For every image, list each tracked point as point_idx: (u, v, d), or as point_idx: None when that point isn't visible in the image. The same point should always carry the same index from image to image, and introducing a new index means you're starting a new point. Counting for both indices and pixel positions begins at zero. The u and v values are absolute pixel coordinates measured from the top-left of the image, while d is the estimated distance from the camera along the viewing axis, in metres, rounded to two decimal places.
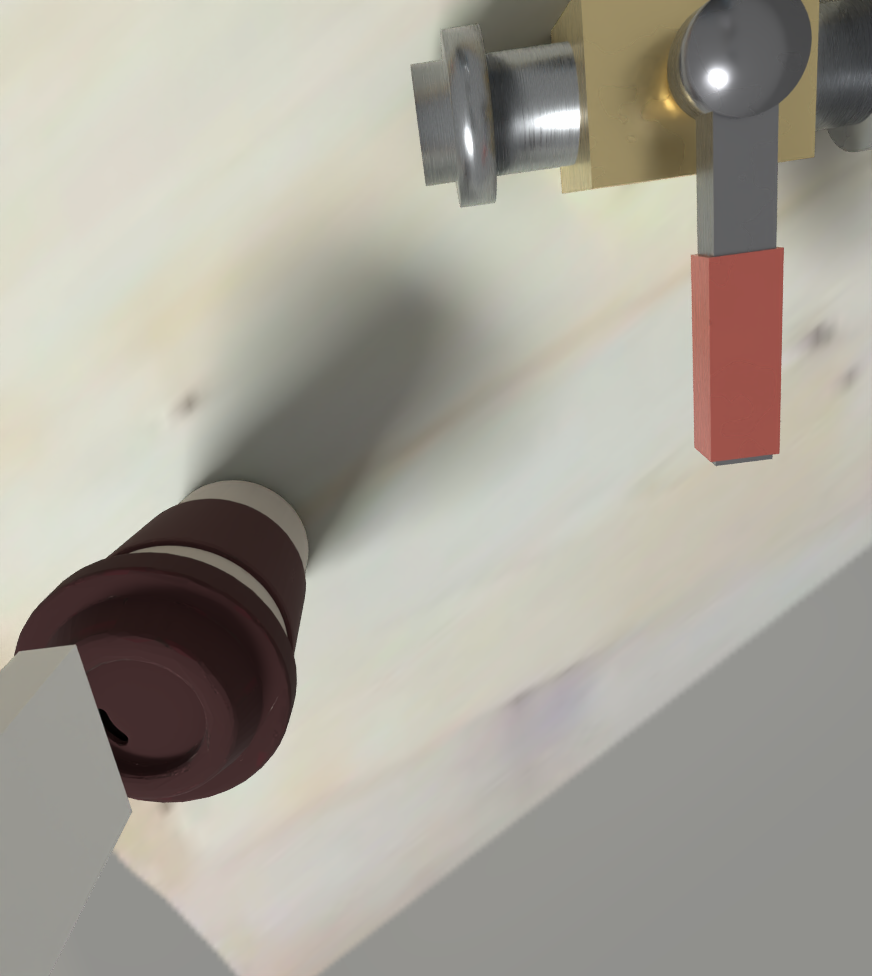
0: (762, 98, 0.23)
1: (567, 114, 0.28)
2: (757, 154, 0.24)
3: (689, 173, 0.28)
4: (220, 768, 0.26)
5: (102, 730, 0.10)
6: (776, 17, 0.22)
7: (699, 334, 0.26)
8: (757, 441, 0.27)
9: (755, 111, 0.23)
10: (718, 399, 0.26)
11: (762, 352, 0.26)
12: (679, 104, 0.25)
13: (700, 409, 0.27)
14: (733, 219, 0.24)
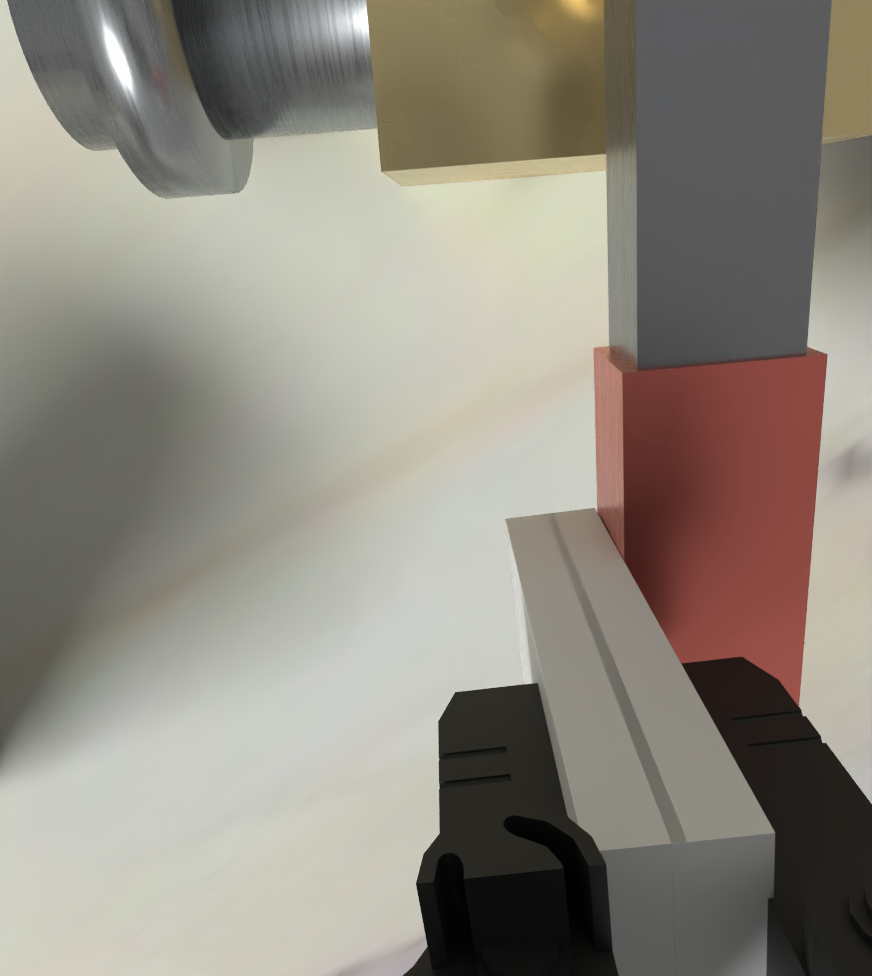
0: None
1: (345, 2, 0.13)
2: (766, 88, 0.08)
3: (604, 151, 0.12)
4: None
5: None
6: None
7: None
8: None
9: None
10: None
11: (758, 607, 0.10)
12: None
13: None
14: (692, 272, 0.09)
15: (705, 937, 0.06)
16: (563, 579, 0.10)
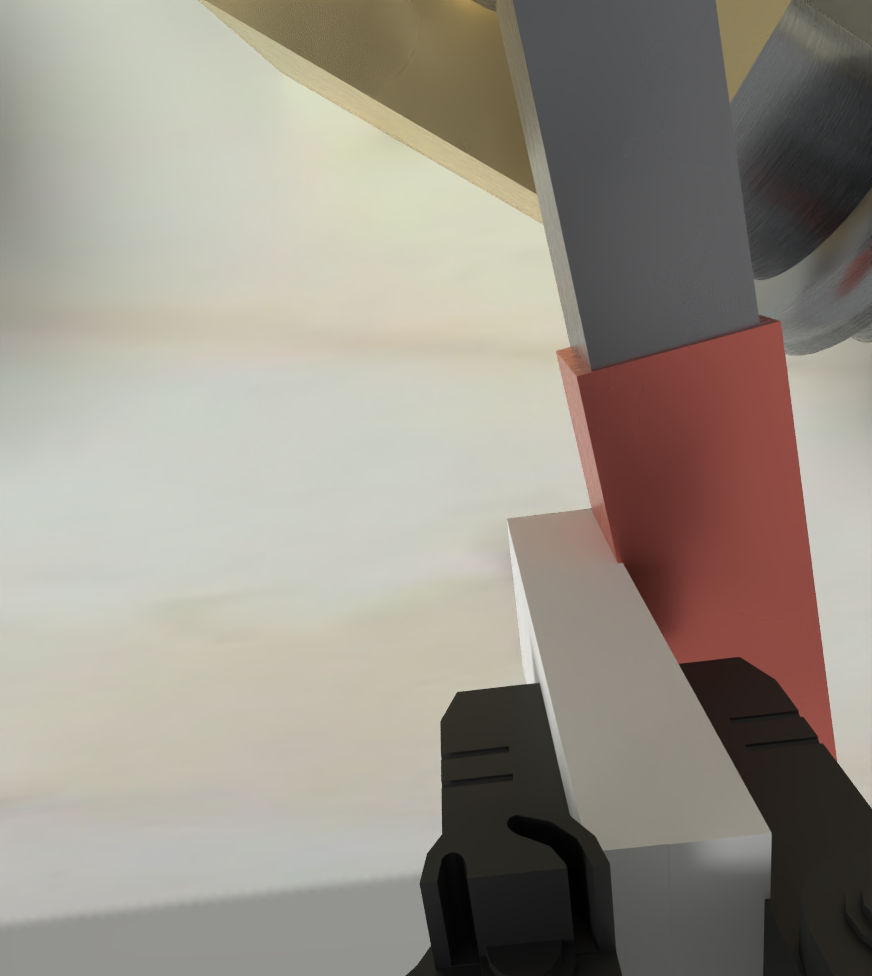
0: None
1: None
2: (663, 72, 0.08)
3: (398, 109, 0.12)
4: None
5: None
6: None
7: None
8: None
9: None
10: None
11: (763, 583, 0.10)
12: None
13: None
14: (626, 265, 0.09)
15: (701, 938, 0.06)
16: (561, 580, 0.10)
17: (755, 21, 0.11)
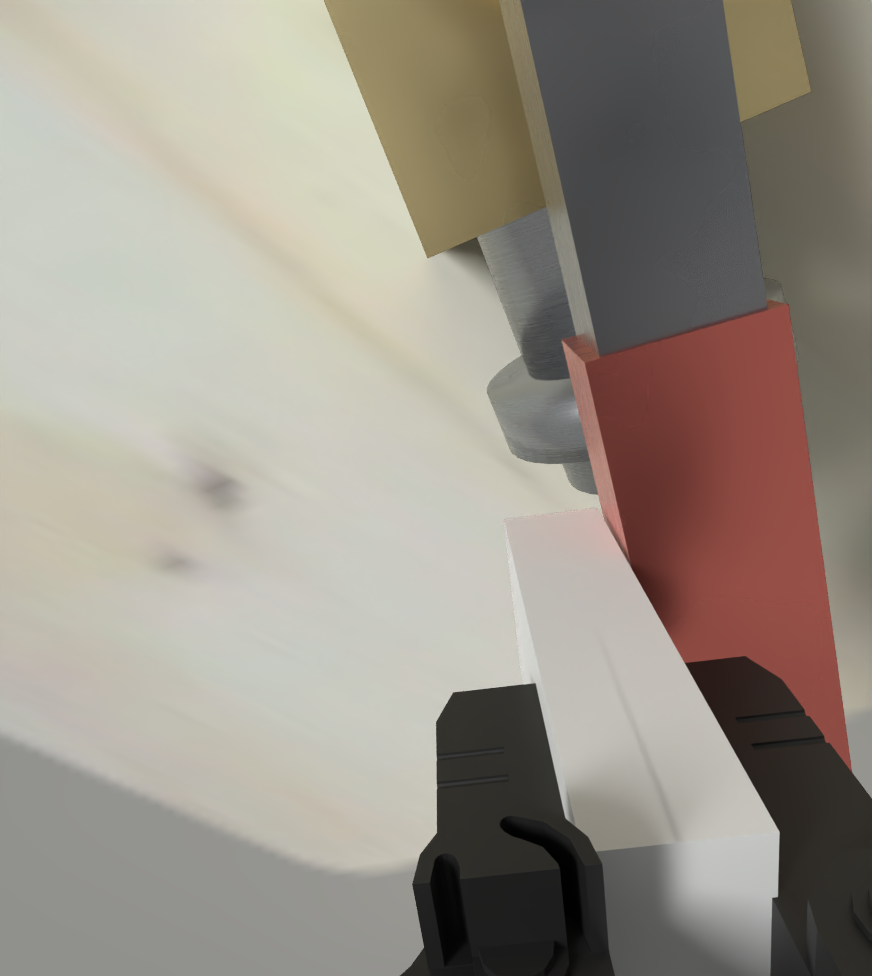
0: None
1: None
2: (668, 55, 0.08)
3: None
4: None
5: None
6: None
7: (611, 526, 0.11)
8: None
9: None
10: None
11: (773, 568, 0.10)
12: None
13: None
14: (633, 250, 0.09)
15: (710, 936, 0.06)
16: (566, 579, 0.10)
17: None
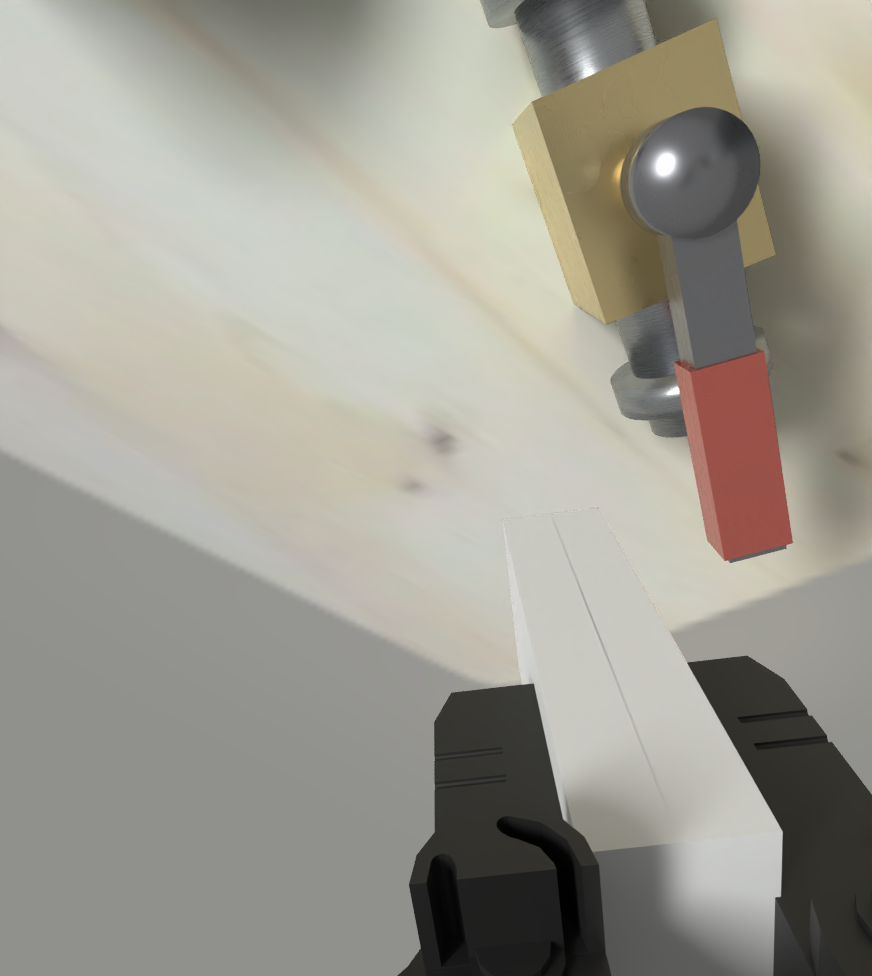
0: (719, 217, 0.23)
1: (594, 61, 0.26)
2: (723, 268, 0.24)
3: (567, 204, 0.27)
4: None
5: None
6: (720, 141, 0.22)
7: (694, 438, 0.26)
8: (768, 534, 0.27)
9: (713, 231, 0.23)
10: (722, 501, 0.26)
11: (759, 451, 0.25)
12: (638, 224, 0.25)
13: (706, 507, 0.27)
14: (709, 332, 0.24)
15: (712, 936, 0.06)
16: (568, 578, 0.10)
17: None
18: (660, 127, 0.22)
